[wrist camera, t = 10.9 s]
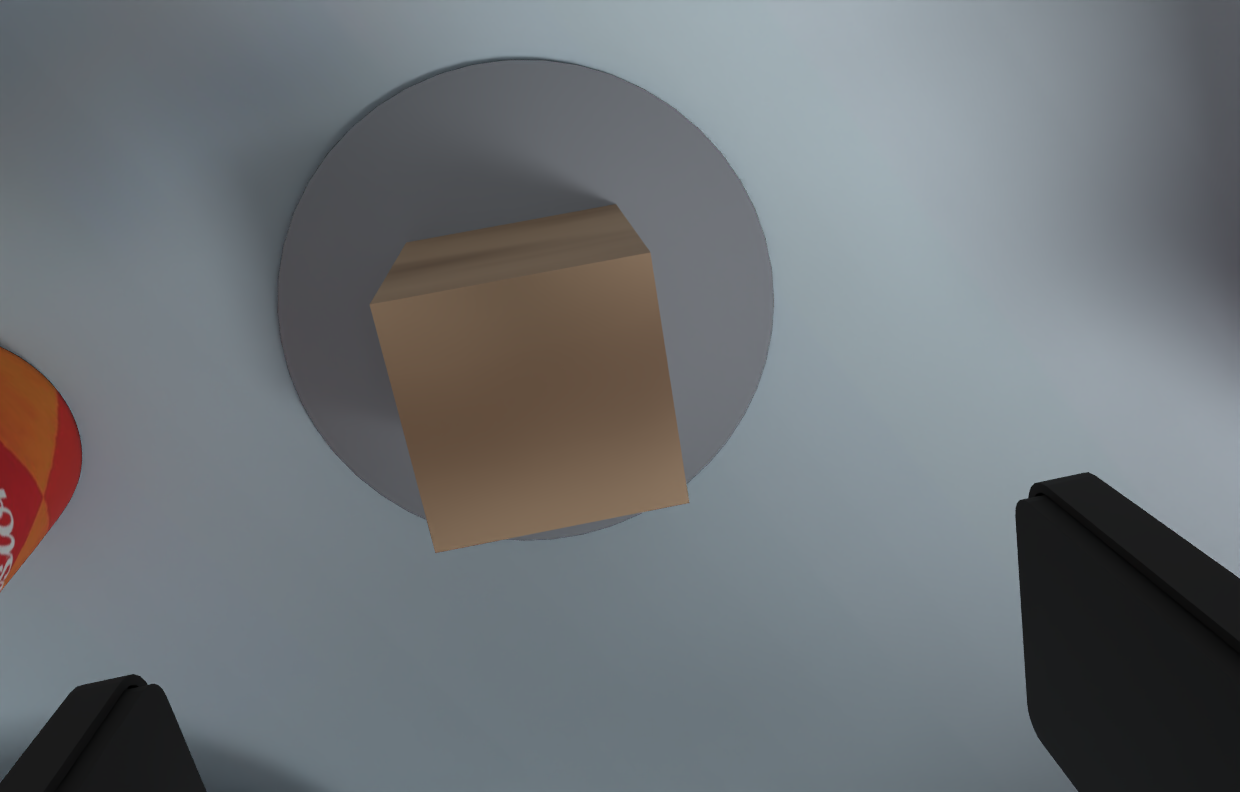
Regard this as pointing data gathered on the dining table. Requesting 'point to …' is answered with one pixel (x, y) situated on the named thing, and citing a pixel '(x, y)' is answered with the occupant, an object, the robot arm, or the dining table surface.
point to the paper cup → (32, 460)
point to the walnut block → (531, 376)
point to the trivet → (508, 193)
